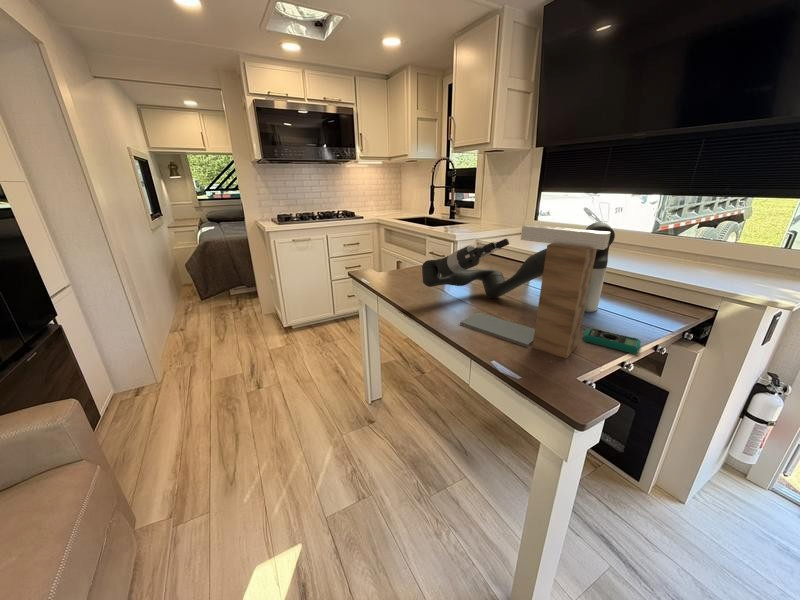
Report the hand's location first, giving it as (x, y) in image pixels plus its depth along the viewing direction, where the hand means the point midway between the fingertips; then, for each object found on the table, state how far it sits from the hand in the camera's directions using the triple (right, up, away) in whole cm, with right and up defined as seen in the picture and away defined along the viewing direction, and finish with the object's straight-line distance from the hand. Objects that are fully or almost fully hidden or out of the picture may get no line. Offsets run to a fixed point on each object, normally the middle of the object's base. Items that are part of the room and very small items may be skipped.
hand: (501, 243), depth 104 cm
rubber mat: (+2, -28, +9) cm, 30 cm away
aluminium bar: (+13, -2, -12) cm, 18 cm away
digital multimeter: (+34, -33, -1) cm, 47 cm away
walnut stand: (+16, -33, -3) cm, 36 cm away
